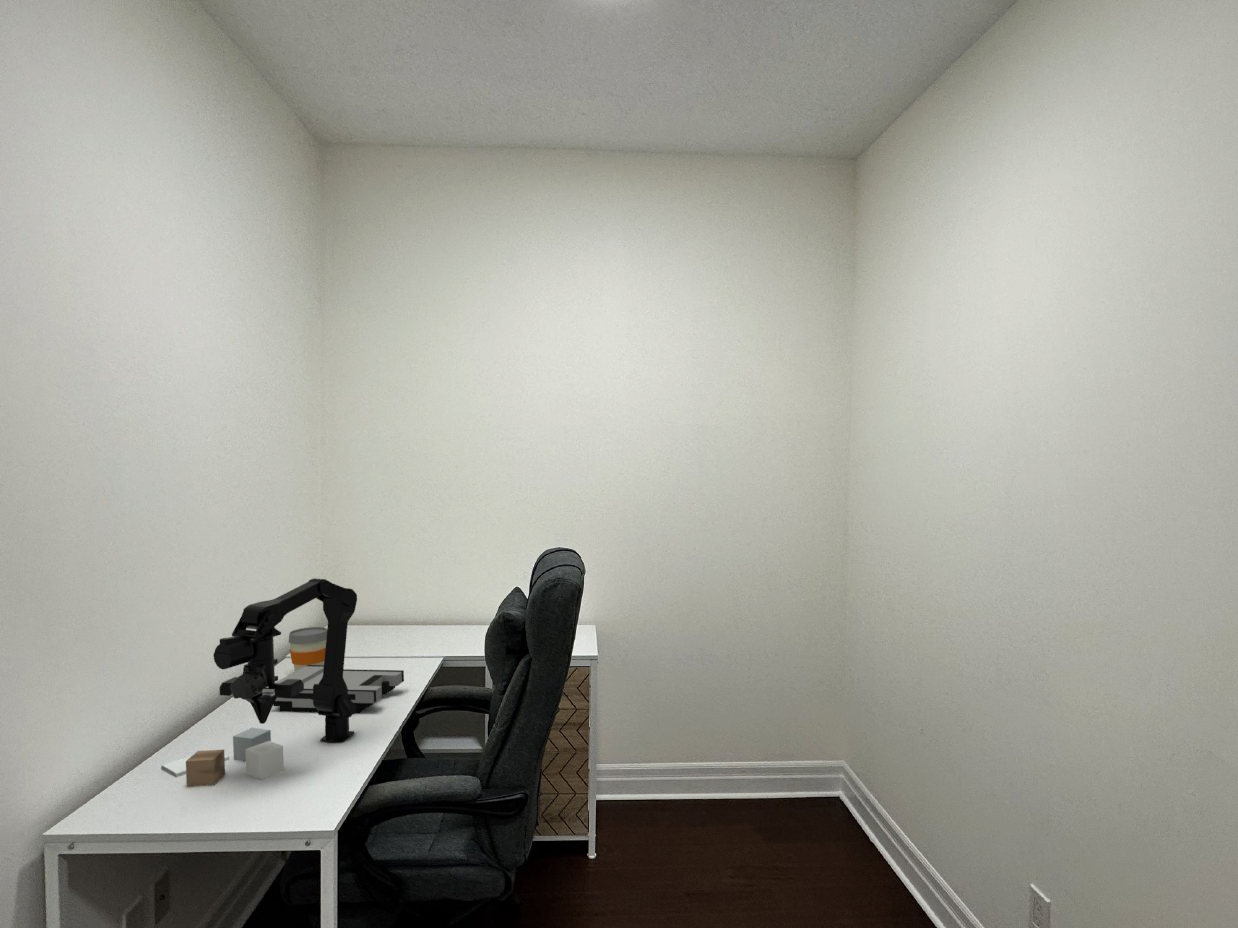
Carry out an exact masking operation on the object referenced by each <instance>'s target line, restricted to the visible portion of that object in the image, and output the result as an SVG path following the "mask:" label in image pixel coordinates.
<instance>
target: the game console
mask: <svg viewBox="0 0 1238 928" xmlns="http://www.w3.org/2000/svg"><path fill="white" fill-rule="evenodd" d="M323 670H324V665H307V666H305V667H303V668H301V669H300V670H298V671H296V672H295V671H294V672H292V673H290V674H288V675H287V676H285V677H283V678H281V679H278V680H277V681H275V683H281V682H283V681H285V680H287V679H301V680H302V682H303V683H304V691H302V692H300V693H298V694H297V695H295V696H293V697H291V698H278V697H277V698H276V700H275V702H274V704H273V706H272V707H279V708H278V709H279V712H280V713H282V712H286V713H289V712H290V713H317V714H318V712H317V709H316V708H315V707H314V705H313V700H311V699H312V696H313V686H314V684H318V683H319V682H320V680H321V679H322V677H323ZM343 679H344V681H345V683H346V685H347V688H348V699H350V700H351V701H352V702H353V703H354V704H356V705H357V707H356V712H355V714H357V715H358V714H361V713H362V712H364V711H365V710H366V709H369V708H370V707H371V706H374V704H375V703H377V702H378V701H379V700H380V699H382V698H383V697H384V696H385V695H388V694H390V692H392V691H393V690H394V689H396V687H398V686H399V685H401V684H402V683H404V682H405V674H404V669H403V670H402V669H401V670H400V669H399V670H398V669H391V670H390V669H349V668H348V669H347V668H346V669H343ZM355 714H354V715H355Z"/></svg>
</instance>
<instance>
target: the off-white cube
mask: <svg viewBox="0 0 1238 928" xmlns="http://www.w3.org/2000/svg"><path fill="white" fill-rule="evenodd" d="M245 754H246V762H245V773H246V775H249V776H251V777H253V778H254V779H255V778H256V779H258V780H262V779H265V778H267V777H270V776H273V775H276V774H278V773H280V772H283V771H285V765H284V762H285V761H284V745H283V744H282V745H281V744H279V743H276V742H273V741H272V740H271V741H267V742H264V743H261V744H259V745H256V746H253V747H250V748H247V749H245Z"/></svg>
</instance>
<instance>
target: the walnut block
mask: <svg viewBox="0 0 1238 928" xmlns="http://www.w3.org/2000/svg"><path fill="white" fill-rule="evenodd" d="M224 754H225V749H216V750H212V749H210V750H209V749H207V750H197V751H196V752H194V754H192V755H190V756H191V757H190V756H189V757H190V758H189V759H188V760H187V761H186V774H185V775H186V777H185V778H186V787H187V788H191V787H192V788H193V787H206V786H207V787H208V786H215V785H216V784H217V783H218V782H219V781H220V780H221V779H222V778H223V777H224V776H225V775H226V761H225V757H224Z"/></svg>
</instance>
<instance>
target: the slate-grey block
mask: <svg viewBox="0 0 1238 928" xmlns="http://www.w3.org/2000/svg"><path fill="white" fill-rule="evenodd" d="M271 736H272V733H271V729H267V728H265V729H264V728H258V727H251V728H249V729H246V730H244V731H241V732H239V733H237V734H234V735H232V745H233V746H232V748H233V751H232V752H233V760H234V761H240V762H245V763H246V754H245V749H247V748H250V747H253V746H256V745H259V744H261V743H264V742H267V741H271V742H272V740H271V739H272V737H271Z"/></svg>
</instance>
